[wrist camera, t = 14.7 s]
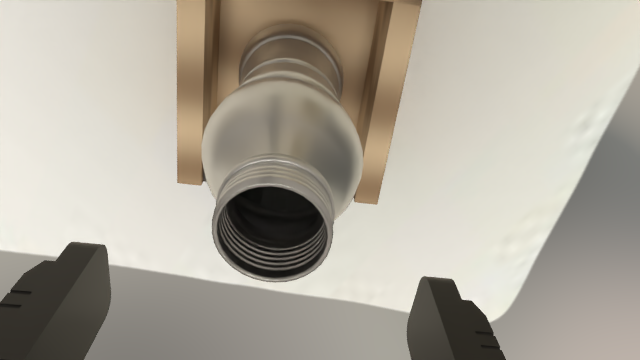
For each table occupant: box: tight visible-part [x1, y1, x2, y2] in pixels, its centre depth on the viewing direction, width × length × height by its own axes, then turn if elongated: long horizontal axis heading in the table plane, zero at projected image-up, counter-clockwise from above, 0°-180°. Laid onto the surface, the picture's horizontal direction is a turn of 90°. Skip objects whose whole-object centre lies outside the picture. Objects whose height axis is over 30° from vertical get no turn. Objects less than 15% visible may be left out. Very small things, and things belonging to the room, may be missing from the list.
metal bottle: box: [201, 23, 363, 282], centre depth 23 cm, size 6×7×20 cm
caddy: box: [177, 0, 422, 204], centre depth 30 cm, size 14×13×6 cm
